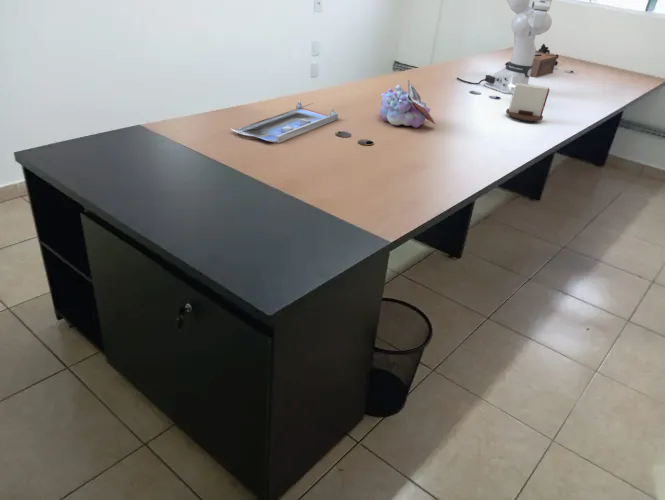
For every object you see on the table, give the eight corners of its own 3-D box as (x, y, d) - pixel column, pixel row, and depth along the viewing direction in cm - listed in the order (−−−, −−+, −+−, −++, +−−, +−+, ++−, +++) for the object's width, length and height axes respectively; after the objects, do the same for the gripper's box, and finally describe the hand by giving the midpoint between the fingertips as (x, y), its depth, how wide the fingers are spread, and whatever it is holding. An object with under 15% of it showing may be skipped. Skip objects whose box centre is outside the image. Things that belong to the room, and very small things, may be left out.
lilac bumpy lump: (373, 99, 230) (382, 67, 214) (423, 100, 233) (435, 69, 217) (380, 138, 221) (389, 108, 205) (431, 139, 224) (445, 109, 208)
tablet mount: (517, 66, 385) (518, 47, 371) (526, 52, 389) (527, 33, 375) (556, 75, 372) (558, 56, 359) (564, 60, 377) (567, 41, 363)
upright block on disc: (507, 117, 240) (515, 87, 233) (504, 107, 254) (512, 79, 247) (544, 123, 238) (554, 93, 231) (540, 113, 252) (548, 84, 245)
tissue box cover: (530, 67, 351) (535, 51, 346) (552, 72, 343) (557, 56, 338) (513, 71, 333) (517, 54, 328) (535, 77, 326) (540, 59, 321)
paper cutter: (337, 119, 218) (339, 105, 215) (267, 147, 184) (268, 131, 181) (300, 108, 225) (301, 94, 222) (226, 133, 191) (226, 117, 188)
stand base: (504, 116, 246) (505, 113, 245) (517, 112, 254) (518, 110, 253) (529, 124, 239) (529, 121, 239) (541, 120, 247) (542, 117, 246)
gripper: (529, 0, 243) (521, 33, 250) (535, 4, 226) (525, 40, 232) (544, 2, 242) (535, 35, 249) (550, 6, 225) (541, 42, 232)
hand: (530, 37), depth 241 cm, fingers open, 8 cm apart
